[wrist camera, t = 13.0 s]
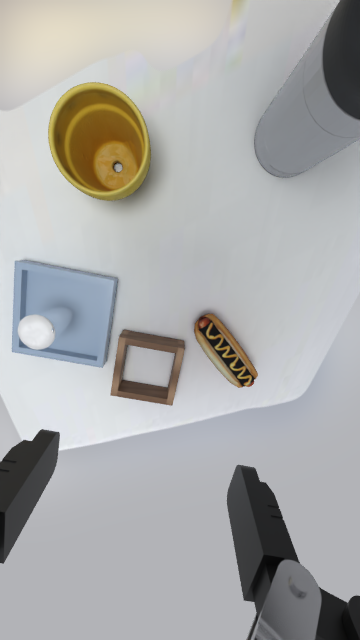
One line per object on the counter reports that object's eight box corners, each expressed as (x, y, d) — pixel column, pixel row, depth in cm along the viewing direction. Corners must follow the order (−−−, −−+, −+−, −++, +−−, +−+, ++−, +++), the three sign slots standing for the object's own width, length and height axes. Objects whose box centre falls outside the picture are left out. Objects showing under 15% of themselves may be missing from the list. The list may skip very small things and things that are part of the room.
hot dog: (231, 382, 46) (237, 398, 41) (185, 323, 43) (186, 333, 38) (255, 366, 45) (265, 380, 40) (210, 305, 42) (215, 313, 37)
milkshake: (86, 325, 41) (59, 349, 32) (54, 332, 42) (17, 358, 32) (76, 297, 40) (45, 313, 31) (43, 305, 40) (2, 324, 31)
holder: (123, 329, 43) (119, 336, 39) (184, 340, 43) (184, 348, 40) (115, 384, 45) (110, 395, 42) (172, 393, 46) (172, 405, 43)
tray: (24, 260, 40) (14, 260, 37) (117, 278, 41) (114, 280, 38) (20, 346, 43) (11, 351, 41) (106, 361, 44) (102, 367, 42)
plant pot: (158, 129, 35) (152, 87, 26) (153, 212, 38) (145, 201, 29) (80, 120, 35) (44, 73, 26) (80, 204, 38) (48, 190, 28)
